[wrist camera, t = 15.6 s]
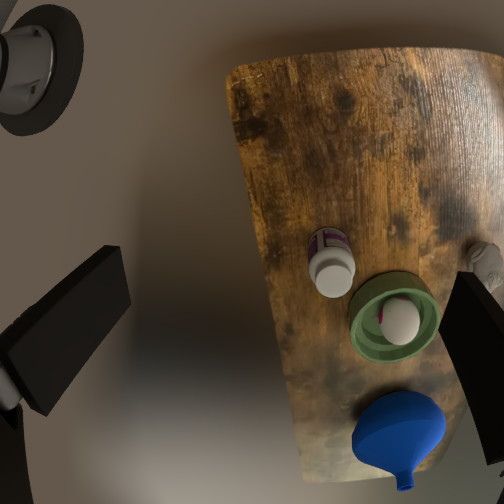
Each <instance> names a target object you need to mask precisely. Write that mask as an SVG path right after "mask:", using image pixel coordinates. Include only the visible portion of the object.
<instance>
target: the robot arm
mask: <svg viewBox="0 0 504 504" xmlns="http://www.w3.org/2000/svg"><path fill="white" fill-rule="evenodd" d="M17 1H18V0H0V33H1V31H2V29H3V27H4V25H5V23H6V21H7V19H8V17H9V15H10V13H11V12H12V10H13V8H14V6H15V4H16V3H17ZM56 62H57V46H56V41H55V38H54V36H53V34H52V32H51V31H50V30H49V29H48V28H46V27H44V26H38V25H28V26H24V27H20V28H17V29H14V30H11V31H8V32H5V33H2V34H0V112H2V113H6V114H11V115H18V114H24V113H27V112H30V111H31V110H33V109H34V108H35V107H36V106H38V104H39V103H40V102H41V101H42V100H43V98H44V97H45V95H46V93H47V91H48V89H49V87H50V85H51V82H52V80H53V76H54V73H55V68H56ZM130 305H131V299H130V295H129V291H128V285H127V282H126V276H125V271H124V266H123V261H122V255H121V250H120V247H119V246H110V245H104V246H103V247H102V248H101V249H99V250H98V251H97V252H96V253H94V254H93V255H92V256H91V257H90V258H88V259H87V260H86V261H84V262H83V263H82V264H81V265H80V266H78V267H77V268H76V269H75V270H74V271H72V272H71V273H70V274H69V275H68V276H66V277H65V278H64V279H63V280H62V281H60V282H59V283H58V284H57V285H56V286H55V287H54V288H53V289H51V290H50V291H49V292H48V293H47V294H46V295H44V296H43V297H42V298H41V299H40V300H39V301H38V302H37V303H35V304H34V305H32V306H30V307H29V308H28V309H27V310H25V311H24V312H23V313H22V314H21V315H20V317H18V318H17V319H16V320H15V321H14V322H13V324H11V325H9V326H8V327H7V328H6V329H5V330H4V331H3V332H2V333H1V334H0V504H34V503H33V499H32V493H31V487H30V481H29V475H28V468H27V460H26V451H25V442H24V428H23V427H24V426H23V410H22V406H21V404H20V403H19V401H20V400H21V399H22V398H24V399H25V401H26V402H27V404H28V405H29V407H30V408H31V409H33V410H35V411H36V412H38V413H40V414H42V415H44V416H46V417H47V416H48V414H49V413H50V411H51V410H52V408H53V407H54V406H55V404H56V403H57V401H58V400H59V399H60V397H61V396H62V394H63V393H64V391H65V390H66V389H67V387H68V386H69V384H70V383H71V382H72V381H73V379H74V378H75V376H76V375H77V374H78V372H79V371H80V370H81V368H82V367H83V366H84V364H85V363H86V361H87V360H88V359H89V357H90V356H91V355H92V353H93V352H94V351H95V350H96V348H97V347H98V346H99V345H100V343H101V342H102V341H103V339H104V338H105V337H106V335H107V334H108V333H109V332H110V330H111V329H112V328H113V326H114V325H115V324H116V323H117V321H118V320H119V319H120V318H121V316H122V315H123V314H124V313H125V311H126V310H127V309H128V308H129V306H130ZM438 331H439V333H440V335H441V337H442V340H443V342H444V344H445V346H446V349H447V351H448V353H449V356H450V358H451V360H452V363H453V365H454V368H455V370H456V373H457V375H458V378H459V380H460V383H461V385H462V388H463V391H464V393H465V396H466V399H467V401H468V404H469V407H470V410H471V413H472V416H473V419H474V422H475V425H476V428H477V431H478V434H479V438H480V441H481V444H482V447H483V451H484V455H485V458H486V462H487V465H491V464H494V463H498V462H501V461H504V311H503V310H502V308H501V307H500V306H499V304H498V303H497V302H496V300H495V299H494V298H493V296H492V295H491V294H490V292H489V291H488V290H487V289H486V287H485V286H484V285H483V284H482V282H481V281H480V280H479V279H478V277H477V276H476V275H475V274H474V272H462V271H458V273H457V277H456V280H455V283H454V286H453V289H452V292H451V295H450V298H449V301H448V304H447V307H446V309H445V312H444V315H443V318H442V320H441V323H440V325H439V328H438ZM502 476H504V470H503V471H502V472H501V474H500V477H502ZM497 504H504V488H503V490H502V493H501V495H500V497H499V499H498V502H497Z"/></svg>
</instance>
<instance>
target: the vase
mask: <svg viewBox="0 0 504 504" xmlns="http://www.w3.org/2000/svg"><path fill="white" fill-rule="evenodd" d="M445 428H446V422H445V418H444V414H443V411H442V410H441V409H440V408H439V407H438V405H437V404H436V403H435V402H434V401H433V400H432V399H431V398H429V397H427V396H425V395H423V394H420V393H418V392H413V391H398V392H393V393H390V394H387V395H385V396H383V397H381V398H379V399H377V400H376V401H374V402H373V403H372V404H370V405H369V407H368V408H367V409H366V410H365V411H364V412H363V414H362V415H361V416H360V418H359V420H358V422H357V424H356V427H355V429H354V432H353V434H352V450H353V452H354V454H355V456H356V457H357V459H358V460H360V461H361V462H363V463H365V464H368V465H371V466H374V467H377V468H380V469H382V470H385V471H387V472H390V473H392V474H393V475H395V476H396V479H397V490H398V491H406V490H409V489H411V488H413V487H414V480H413V471H414V469H415V468H416V466H417V465H418V464H419V463H420V462H421V461H422V460H423V459H424V458H425V457H426V456H427V455H428V454H429V453H430V452H431V451H432V450H433V449H434V447H435V446H436V445H437V444H438V443H439V442H440V441H441V439H442V438H443V436H444V433H445Z"/></svg>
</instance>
